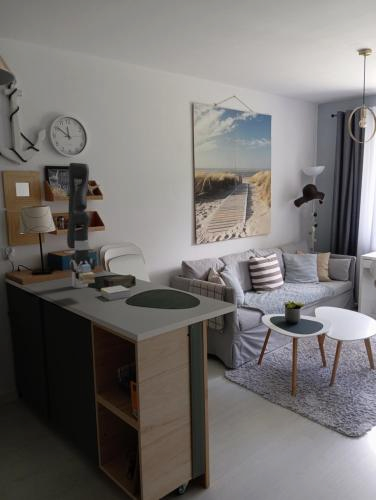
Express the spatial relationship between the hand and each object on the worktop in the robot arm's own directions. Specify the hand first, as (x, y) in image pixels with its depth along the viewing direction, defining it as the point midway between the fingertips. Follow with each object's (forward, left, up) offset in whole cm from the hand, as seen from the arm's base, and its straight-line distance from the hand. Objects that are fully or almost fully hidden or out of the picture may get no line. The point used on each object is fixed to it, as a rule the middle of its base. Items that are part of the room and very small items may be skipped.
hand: (83, 278), depth 225 cm
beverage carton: (-10, +25, -11) cm, 29 cm away
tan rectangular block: (+2, 0, -1) cm, 3 cm away
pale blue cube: (+4, 0, +4) cm, 5 cm away
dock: (+10, +14, -10) cm, 20 cm away
